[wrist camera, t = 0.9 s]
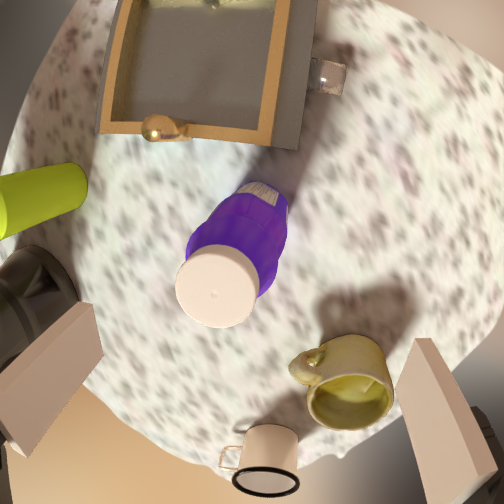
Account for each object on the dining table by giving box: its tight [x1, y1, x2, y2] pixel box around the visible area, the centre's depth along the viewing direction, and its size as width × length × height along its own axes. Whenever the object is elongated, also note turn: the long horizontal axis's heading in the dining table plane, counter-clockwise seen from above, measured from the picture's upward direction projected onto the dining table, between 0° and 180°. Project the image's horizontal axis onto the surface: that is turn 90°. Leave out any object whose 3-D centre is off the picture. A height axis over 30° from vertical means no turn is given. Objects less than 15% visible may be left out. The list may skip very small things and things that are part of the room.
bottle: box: [175, 182, 288, 328], centre depth 23 cm, size 7×6×17 cm
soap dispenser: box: [0, 162, 87, 241], centre depth 23 cm, size 6×7×20 cm
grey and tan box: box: [95, 0, 346, 150], centre depth 21 cm, size 21×15×12 cm
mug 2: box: [288, 334, 394, 431], centre depth 32 cm, size 12×10×10 cm
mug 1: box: [218, 424, 300, 498], centre depth 38 cm, size 12×10×9 cm
